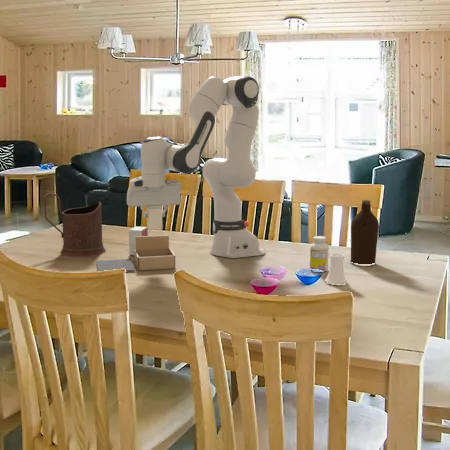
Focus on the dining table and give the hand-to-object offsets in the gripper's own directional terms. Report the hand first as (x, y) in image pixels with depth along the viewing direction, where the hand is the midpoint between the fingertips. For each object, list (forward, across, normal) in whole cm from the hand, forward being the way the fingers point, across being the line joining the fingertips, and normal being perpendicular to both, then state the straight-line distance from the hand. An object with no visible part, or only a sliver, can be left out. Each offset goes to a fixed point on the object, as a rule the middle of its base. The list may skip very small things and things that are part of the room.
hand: (154, 217), depth 229 cm
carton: (+19, 0, 0) cm, 19 cm away
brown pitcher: (+19, +29, -27) cm, 44 cm away
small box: (+19, +4, -20) cm, 28 cm away
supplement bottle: (+19, -59, +20) cm, 65 cm away
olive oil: (+20, -80, +14) cm, 83 cm away
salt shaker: (+19, -59, +36) cm, 71 cm away
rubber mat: (+18, +15, 0) cm, 24 cm away
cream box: (+4, 0, 0) cm, 4 cm away
